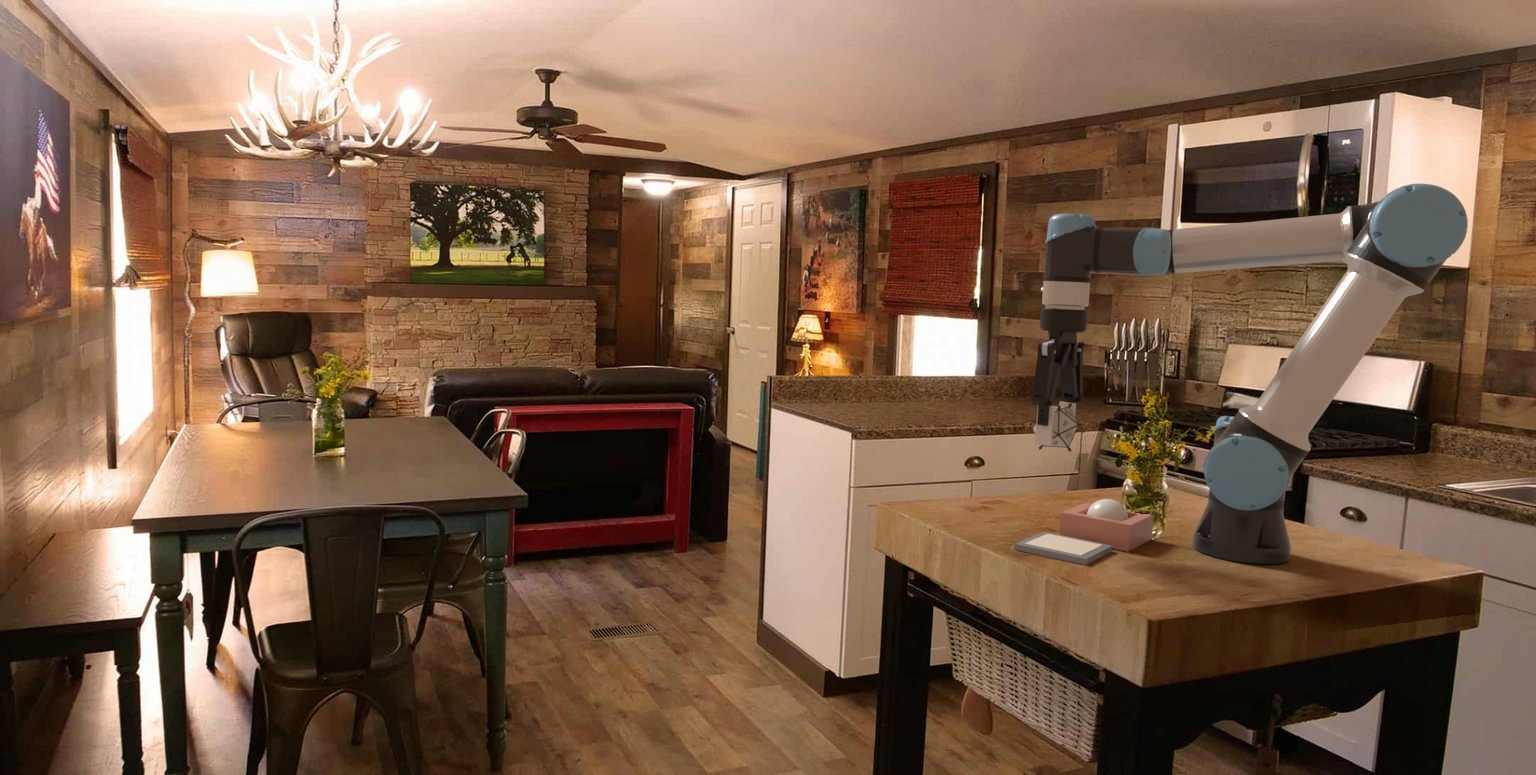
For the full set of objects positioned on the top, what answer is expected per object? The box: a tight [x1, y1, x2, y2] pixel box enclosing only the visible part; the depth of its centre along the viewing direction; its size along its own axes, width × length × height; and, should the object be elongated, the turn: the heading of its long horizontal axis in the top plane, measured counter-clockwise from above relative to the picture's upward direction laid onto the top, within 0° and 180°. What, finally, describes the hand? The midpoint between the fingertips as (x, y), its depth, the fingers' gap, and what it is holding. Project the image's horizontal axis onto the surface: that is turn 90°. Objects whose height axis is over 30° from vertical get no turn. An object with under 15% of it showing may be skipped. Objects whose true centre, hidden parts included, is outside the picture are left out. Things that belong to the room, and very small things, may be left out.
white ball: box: [1087, 498, 1128, 521], centre depth 182 cm, size 7×7×7 cm
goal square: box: [1013, 531, 1113, 566], centre depth 173 cm, size 12×12×1 cm
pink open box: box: [1058, 502, 1154, 553], centre depth 183 cm, size 12×12×4 cm
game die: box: [1027, 403, 1085, 453], centre depth 177 cm, size 9×8×10 cm
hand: (1054, 442), depth 177 cm, fingers closed on game die, 8 cm apart
